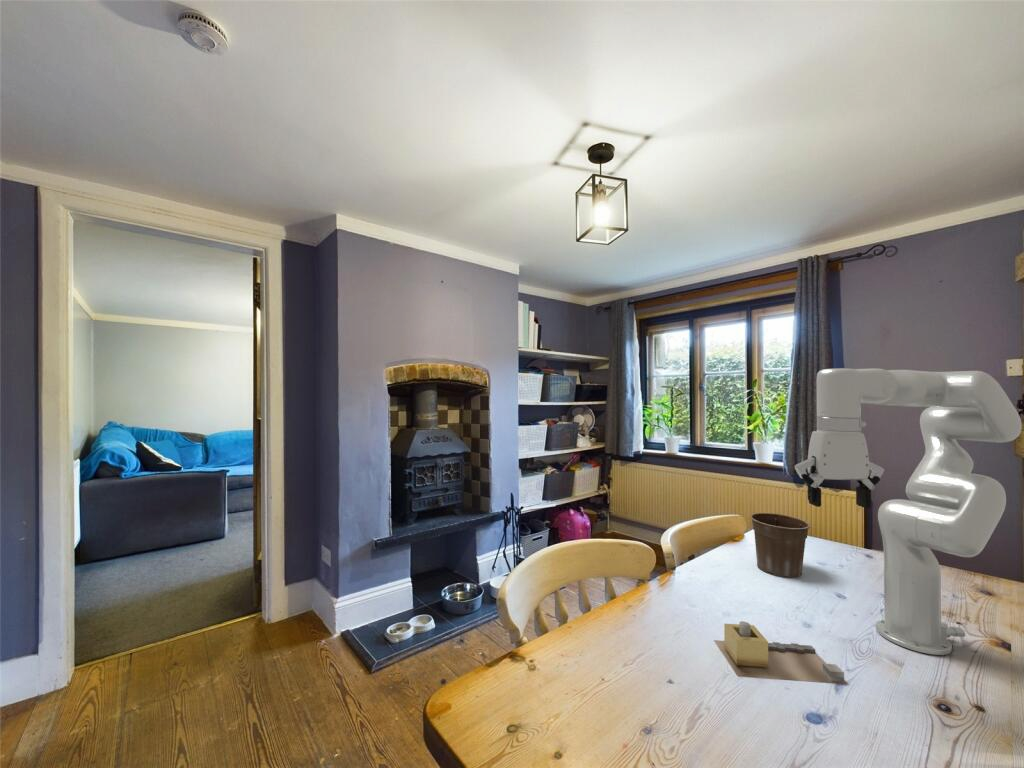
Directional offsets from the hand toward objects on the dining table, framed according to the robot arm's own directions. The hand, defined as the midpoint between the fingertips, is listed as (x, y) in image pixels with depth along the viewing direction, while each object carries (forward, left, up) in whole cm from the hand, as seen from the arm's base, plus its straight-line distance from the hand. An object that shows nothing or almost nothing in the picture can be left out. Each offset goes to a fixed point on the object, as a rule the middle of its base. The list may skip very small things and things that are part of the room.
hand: (838, 506), depth 90 cm
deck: (+15, +4, -32) cm, 36 cm away
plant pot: (-12, -47, -32) cm, 58 cm away
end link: (+21, +4, -31) cm, 37 cm away
